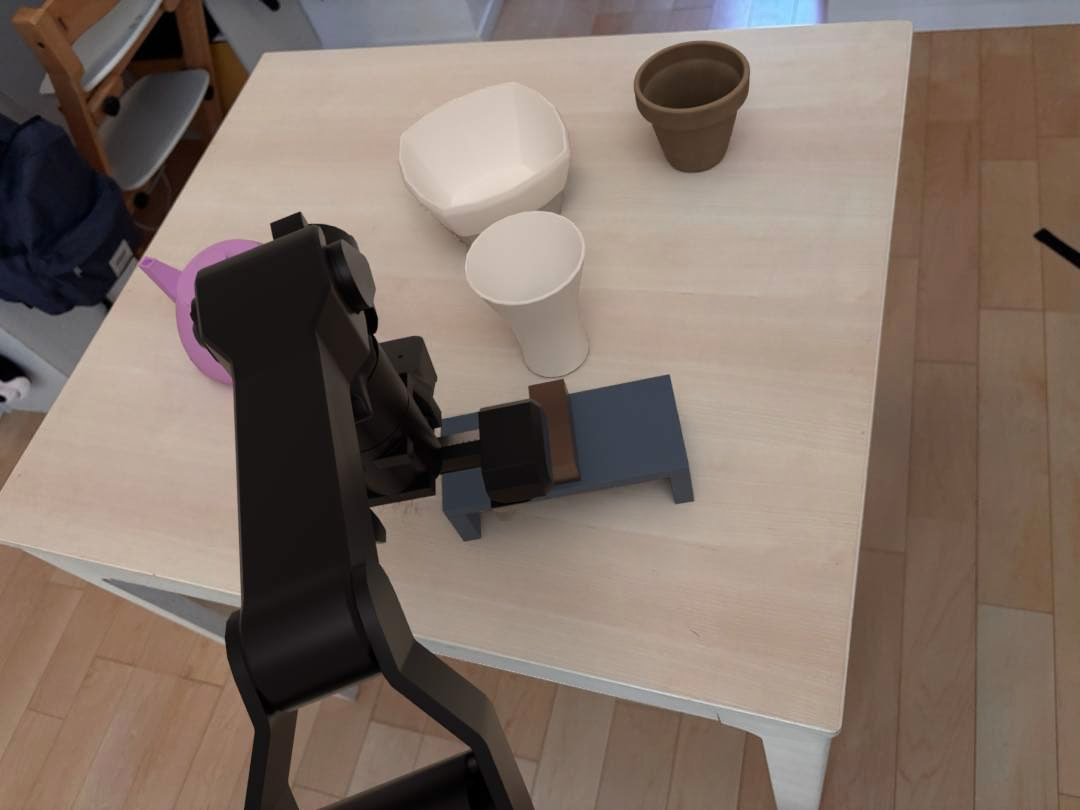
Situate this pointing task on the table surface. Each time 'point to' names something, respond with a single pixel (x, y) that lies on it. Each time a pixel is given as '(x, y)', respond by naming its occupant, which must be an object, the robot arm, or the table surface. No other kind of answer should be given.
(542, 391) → the block
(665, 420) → the shelf
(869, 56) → the table surface
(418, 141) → the bowl
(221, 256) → the teapot
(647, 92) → the flower pot
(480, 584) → the table surface
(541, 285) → the cup
